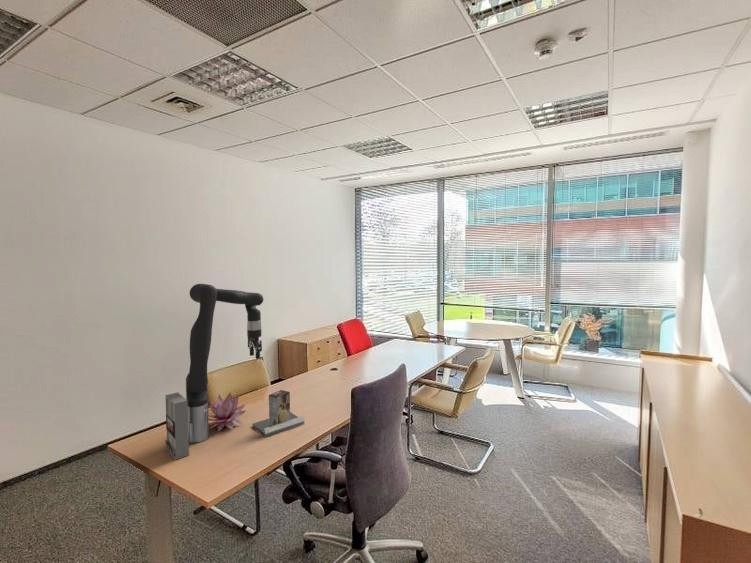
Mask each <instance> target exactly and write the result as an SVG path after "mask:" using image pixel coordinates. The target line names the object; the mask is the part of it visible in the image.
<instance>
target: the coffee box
mask: <svg viewBox="0 0 751 563" xmlns="http://www.w3.org/2000/svg"><path fill="white" fill-rule="evenodd" d="M290 400H291V398H290V391H287V390H283V389H280V390H277V391H275V392H273V393H271V394H268V415H269V416H268V417H269V418H268V419H269V425H271V426H273V425H276V424H279V423H282V422H285V421H289V420H290V412H291V401H290Z"/></svg>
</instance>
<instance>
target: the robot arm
mask: <svg viewBox="0 0 751 563" xmlns="http://www.w3.org/2000/svg"><path fill="white" fill-rule="evenodd" d="M263 296H264V295H262V294H261V293H259V292H249V291H248V292H247V291H244V290H243V291H242V290H237V289H236V290H234V289H222V288H216V287H215V286H214V285H212V284H206V283H197V284H194V285H193V286H192V287H191V288H190V290H189V297H190V300H192V301H194V302H195V303H199V312H198V316H197V317H196V320H195V322H193V325H192V327H191V330H190V334H189V335H190V336H189V360H190V365H189V372H188V373H187V376H186V377H185V395H186V396H185V399H186V400H187V403H188V438H189V444H194V443H195V444H196V443H201V442H204V441H206V440H207V439H209V435H210V434H209V433H210V432H209V428H210V427H209V424H208V423H209V420H208V419H209V416H208V413H209V397H208V384H209V383H208V382H209V379H208V361H209V356H210V351H211V343H212V335H213V334H212V333H213V324H214V323H213V322H214V313H215V309H216V303H217V302H221V303H222V302H223V303H229V304H233V305H244V306H245V309H246V310H245V311H246V313H247V318H246V319H247V322H246V333H247V334H246V336H247V348H248V349H249V356H250V357H251V356H253V357H254V355H255V360H259V359H261V352H262V351H263V349H262V348H263V347H262V345H263V344H262V340H260V339H259V338H261V337H262V318H261V317H262V316H261V314H262V313H261V310H260V309H258V308H257V307H258V306H261V305H262V304H263V303H264V297H263Z"/></svg>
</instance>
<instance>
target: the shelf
mask: <svg viewBox="0 0 751 563" xmlns="http://www.w3.org/2000/svg"><path fill="white" fill-rule="evenodd" d="M304 424H305V416H304V415H301V416H297V415H296V414H295V413H293V412H292V411H290V420H289V421H285V422H282V423H279V424H276V425H273V426H271V425H269V418H266V419H263V420H261V421H256V422H253V423H252V428H254V430H256V431H257V430H258V431H257V432H259V433H260V435H262V436H263V435H264V436H263V437H264V438H266V436H267V437H269V436H272V435H274V434H278V433H281V432H284V431H287V430H290V429H293V428H297V427H299V426H302V425H304Z"/></svg>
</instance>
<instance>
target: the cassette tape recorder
mask: <svg viewBox="0 0 751 563" xmlns="http://www.w3.org/2000/svg"><path fill="white" fill-rule="evenodd" d="M164 396H165V430H166V439H165V442H164V443H165V449H166V450H167V452H168V453H169V454H170V456H171V457H172V458H173V459H174V461H175V460H176V461H177V460H179V459H182V458H184V457H186V456H187V457H188V456H190V446H189V445H190V443H189V438H188V403H187V400H186V397H184V396H183V395H182V394H180V393H179V392H173V393H169V394H165V395H164Z"/></svg>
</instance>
